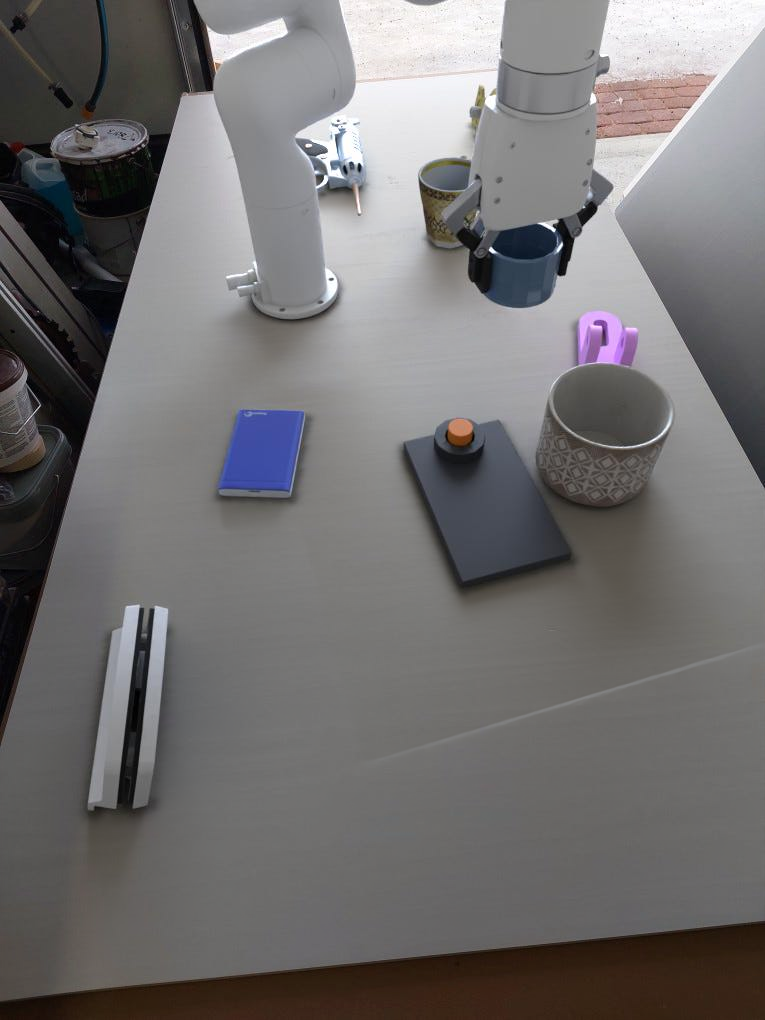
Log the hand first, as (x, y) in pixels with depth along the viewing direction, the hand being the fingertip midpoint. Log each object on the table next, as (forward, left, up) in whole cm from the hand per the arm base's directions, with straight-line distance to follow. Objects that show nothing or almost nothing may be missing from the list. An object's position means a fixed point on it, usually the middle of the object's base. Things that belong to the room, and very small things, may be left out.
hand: (517, 276), depth 68 cm
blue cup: (0, 0, -1) cm, 1 cm away
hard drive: (-28, +3, -20) cm, 35 cm away
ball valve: (+28, +70, -20) cm, 78 cm away
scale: (-6, -11, -20) cm, 24 cm away
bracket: (+18, +8, -20) cm, 28 cm away
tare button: (-6, -4, -17) cm, 19 cm away
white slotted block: (-45, -25, -20) cm, 55 cm away
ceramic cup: (+9, +41, -20) cm, 46 cm away
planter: (+7, -11, -20) cm, 24 cm away
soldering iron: (-7, +63, -20) cm, 66 cm away
